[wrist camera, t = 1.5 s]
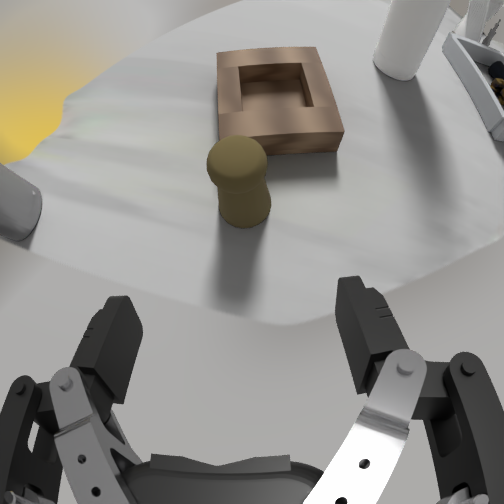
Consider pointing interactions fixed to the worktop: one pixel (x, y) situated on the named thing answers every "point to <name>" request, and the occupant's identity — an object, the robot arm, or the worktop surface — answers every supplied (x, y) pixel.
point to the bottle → (407, 36)
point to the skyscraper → (478, 20)
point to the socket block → (278, 100)
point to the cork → (240, 180)
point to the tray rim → (477, 78)
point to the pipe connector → (497, 80)
